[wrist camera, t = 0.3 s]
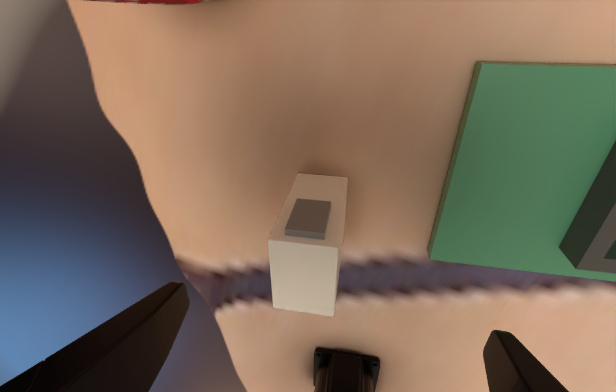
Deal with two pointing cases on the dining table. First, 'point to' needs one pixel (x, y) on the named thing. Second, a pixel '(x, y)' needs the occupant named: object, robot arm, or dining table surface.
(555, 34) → the dining table surface
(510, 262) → the circuit board
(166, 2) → the soda can
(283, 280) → the light grey upright block
